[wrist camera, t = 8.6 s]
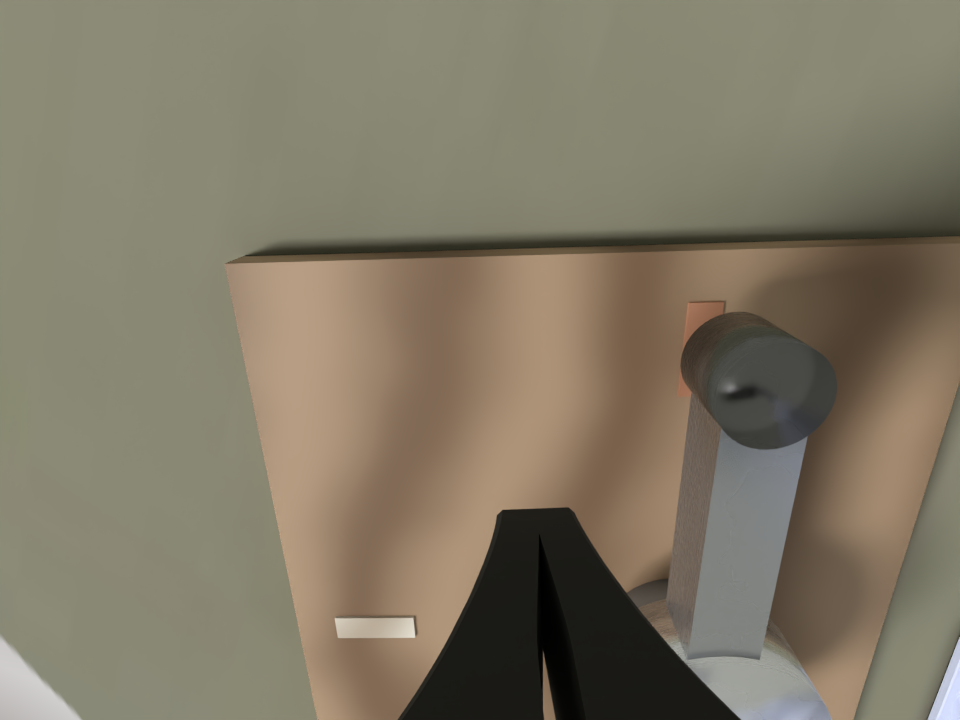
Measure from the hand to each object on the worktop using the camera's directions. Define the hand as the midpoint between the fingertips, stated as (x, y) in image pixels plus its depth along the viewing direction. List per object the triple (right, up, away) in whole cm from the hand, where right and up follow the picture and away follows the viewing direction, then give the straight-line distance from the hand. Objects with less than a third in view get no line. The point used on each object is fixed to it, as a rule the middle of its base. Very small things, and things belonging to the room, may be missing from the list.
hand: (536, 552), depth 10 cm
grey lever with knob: (+6, -3, +7) cm, 9 cm away
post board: (+3, -3, +10) cm, 11 cm away
